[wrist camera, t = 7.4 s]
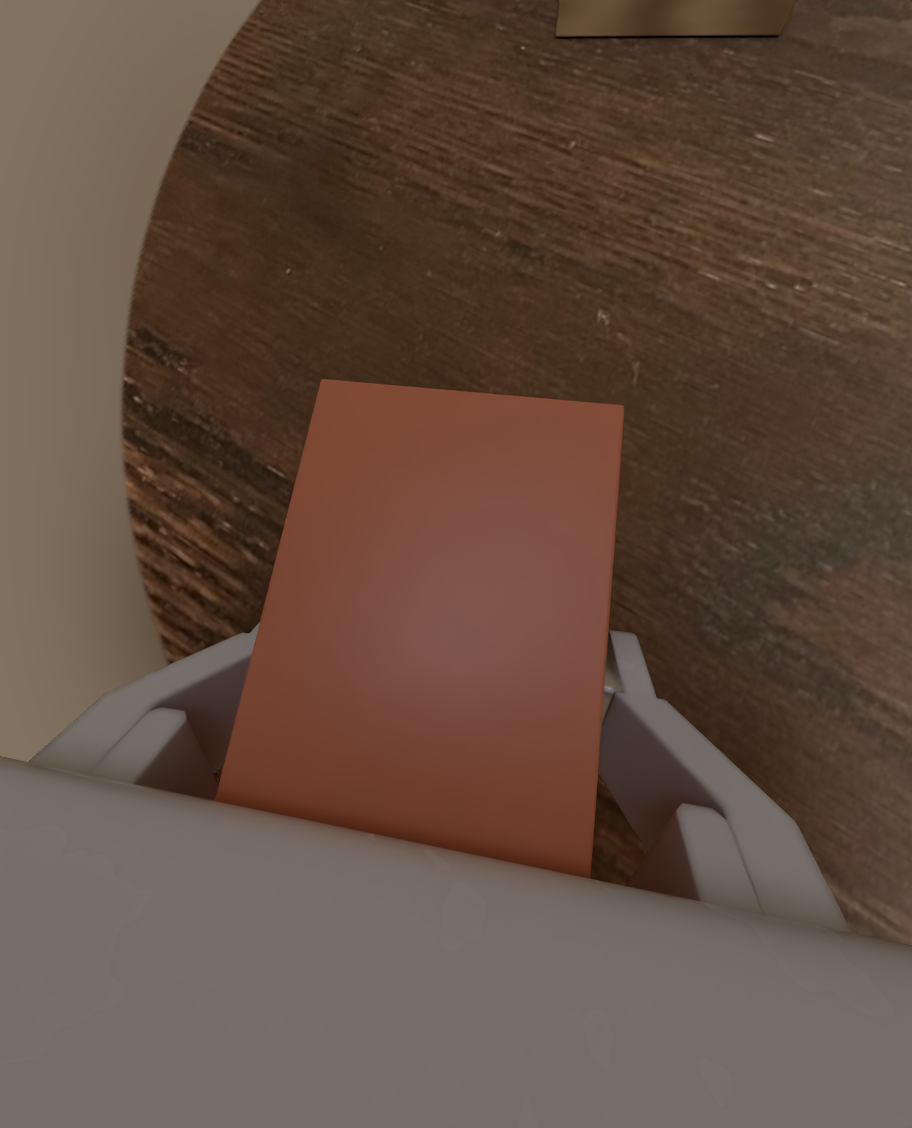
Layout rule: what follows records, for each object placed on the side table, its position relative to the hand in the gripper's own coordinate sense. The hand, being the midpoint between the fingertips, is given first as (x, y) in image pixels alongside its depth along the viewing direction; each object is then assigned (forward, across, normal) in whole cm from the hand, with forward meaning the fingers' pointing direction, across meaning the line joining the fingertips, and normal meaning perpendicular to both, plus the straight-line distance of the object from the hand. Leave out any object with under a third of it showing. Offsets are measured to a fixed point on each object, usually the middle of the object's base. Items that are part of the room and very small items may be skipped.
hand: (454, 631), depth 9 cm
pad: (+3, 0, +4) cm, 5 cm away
